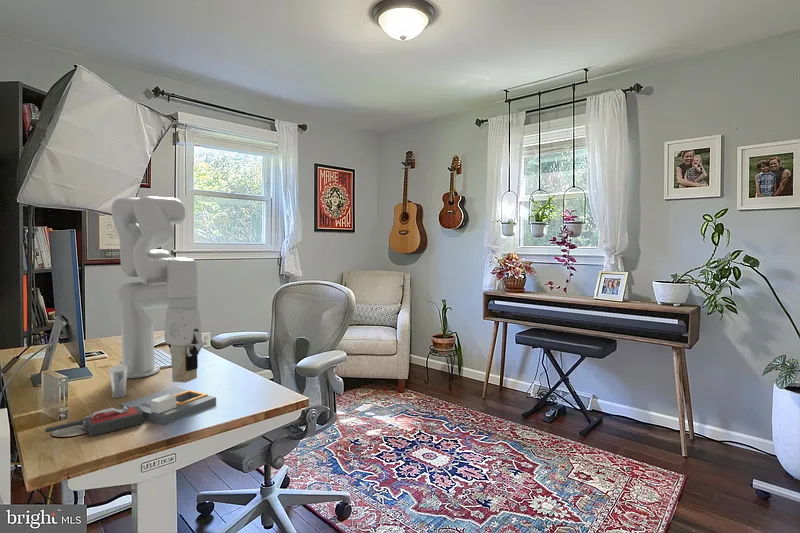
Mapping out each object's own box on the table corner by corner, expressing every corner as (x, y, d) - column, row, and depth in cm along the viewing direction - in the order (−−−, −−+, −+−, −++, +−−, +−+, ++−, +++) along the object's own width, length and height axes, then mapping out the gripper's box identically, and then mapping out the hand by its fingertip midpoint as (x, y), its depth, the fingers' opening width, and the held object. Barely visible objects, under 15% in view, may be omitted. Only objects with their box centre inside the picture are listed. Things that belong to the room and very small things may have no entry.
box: (185, 383, 121) (184, 343, 120) (171, 382, 122) (170, 342, 121) (198, 377, 126) (197, 338, 125) (184, 376, 127) (183, 338, 126)
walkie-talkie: (140, 412, 118) (44, 434, 105) (140, 396, 118) (44, 416, 104) (149, 422, 112) (48, 448, 98) (149, 405, 112) (48, 428, 98)
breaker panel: (120, 411, 119) (120, 402, 119) (174, 393, 133) (174, 385, 133) (162, 425, 111) (162, 415, 111) (216, 404, 125) (215, 395, 125)
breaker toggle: (150, 411, 114) (150, 400, 114) (169, 405, 118) (168, 394, 118) (158, 413, 112) (157, 402, 112) (176, 407, 117) (176, 396, 117)
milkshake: (134, 394, 132) (133, 361, 131) (114, 400, 128) (113, 366, 127) (126, 391, 135) (125, 359, 134) (107, 396, 130) (106, 363, 130)
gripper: (150, 303, 123) (152, 367, 124) (191, 307, 115) (193, 376, 116) (175, 300, 130) (177, 361, 131) (215, 304, 122) (217, 369, 123)
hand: (184, 367), depth 124 cm, fingers closed on box, 5 cm apart
